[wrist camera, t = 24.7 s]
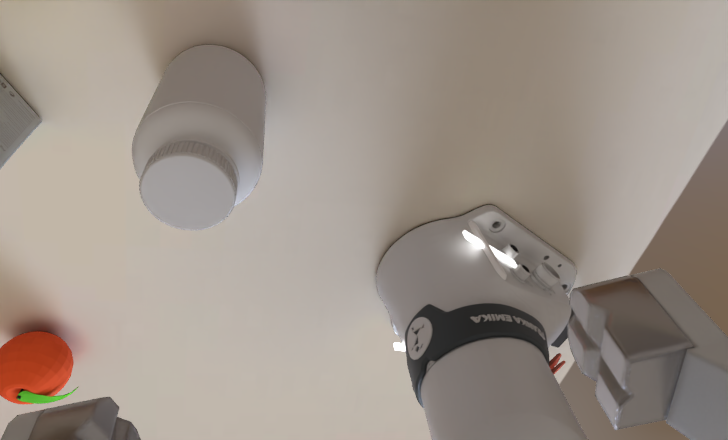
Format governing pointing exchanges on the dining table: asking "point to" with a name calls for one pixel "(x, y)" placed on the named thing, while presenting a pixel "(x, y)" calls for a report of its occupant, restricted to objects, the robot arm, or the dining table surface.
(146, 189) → the pill bottle
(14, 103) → the small box
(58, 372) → the clementine
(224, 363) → the dining table surface
